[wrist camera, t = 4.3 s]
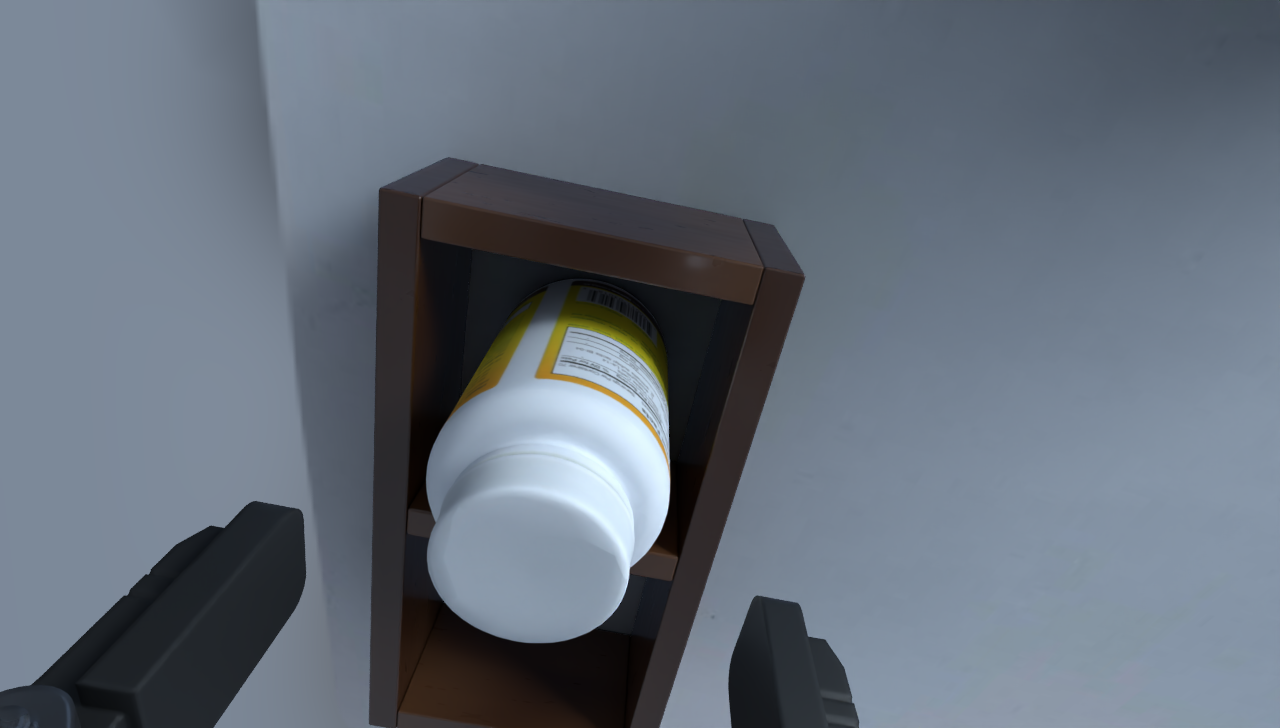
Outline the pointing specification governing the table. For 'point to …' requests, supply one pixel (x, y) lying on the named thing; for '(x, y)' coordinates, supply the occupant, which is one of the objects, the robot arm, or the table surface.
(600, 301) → the supplement bottle
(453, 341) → the bottle rack
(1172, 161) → the table surface
